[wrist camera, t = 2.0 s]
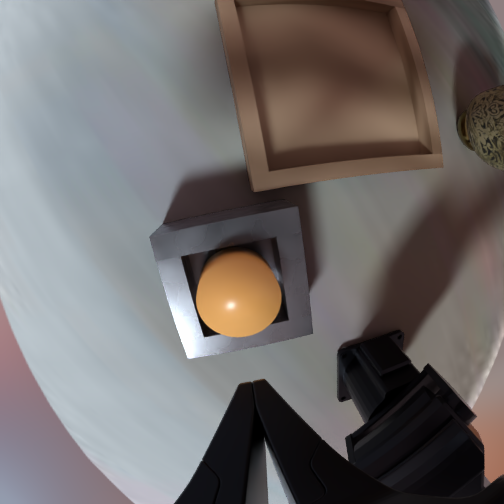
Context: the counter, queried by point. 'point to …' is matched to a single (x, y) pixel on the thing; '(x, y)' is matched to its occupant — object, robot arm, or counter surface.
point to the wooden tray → (327, 89)
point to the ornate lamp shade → (485, 126)
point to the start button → (237, 293)
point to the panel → (227, 236)
